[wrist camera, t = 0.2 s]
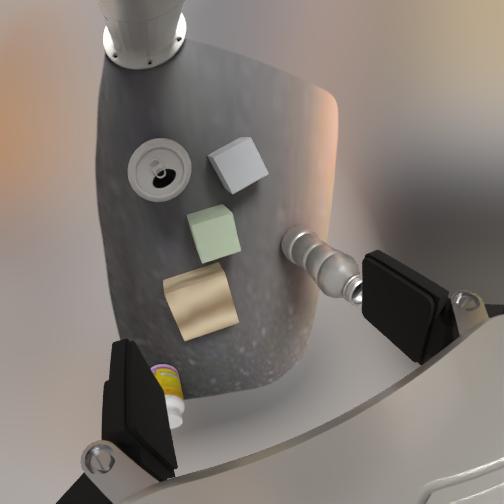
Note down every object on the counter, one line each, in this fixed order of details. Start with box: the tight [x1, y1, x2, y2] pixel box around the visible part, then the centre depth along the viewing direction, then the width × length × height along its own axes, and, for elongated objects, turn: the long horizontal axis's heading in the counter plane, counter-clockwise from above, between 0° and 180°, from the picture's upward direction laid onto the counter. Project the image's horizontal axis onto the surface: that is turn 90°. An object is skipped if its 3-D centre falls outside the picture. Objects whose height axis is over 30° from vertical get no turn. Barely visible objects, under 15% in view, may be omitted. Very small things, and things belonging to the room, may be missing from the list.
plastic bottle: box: [281, 225, 362, 306], centre depth 43 cm, size 6×7×20 cm
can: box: [128, 138, 192, 202], centre depth 35 cm, size 8×8×12 cm
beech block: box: [163, 262, 239, 341], centre depth 48 cm, size 10×10×5 cm
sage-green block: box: [186, 204, 241, 264], centre depth 44 cm, size 6×6×6 cm
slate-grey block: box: [207, 137, 268, 194], centre depth 41 cm, size 6×6×5 cm
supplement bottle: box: [151, 364, 185, 429], centre depth 49 cm, size 7×7×13 cm
